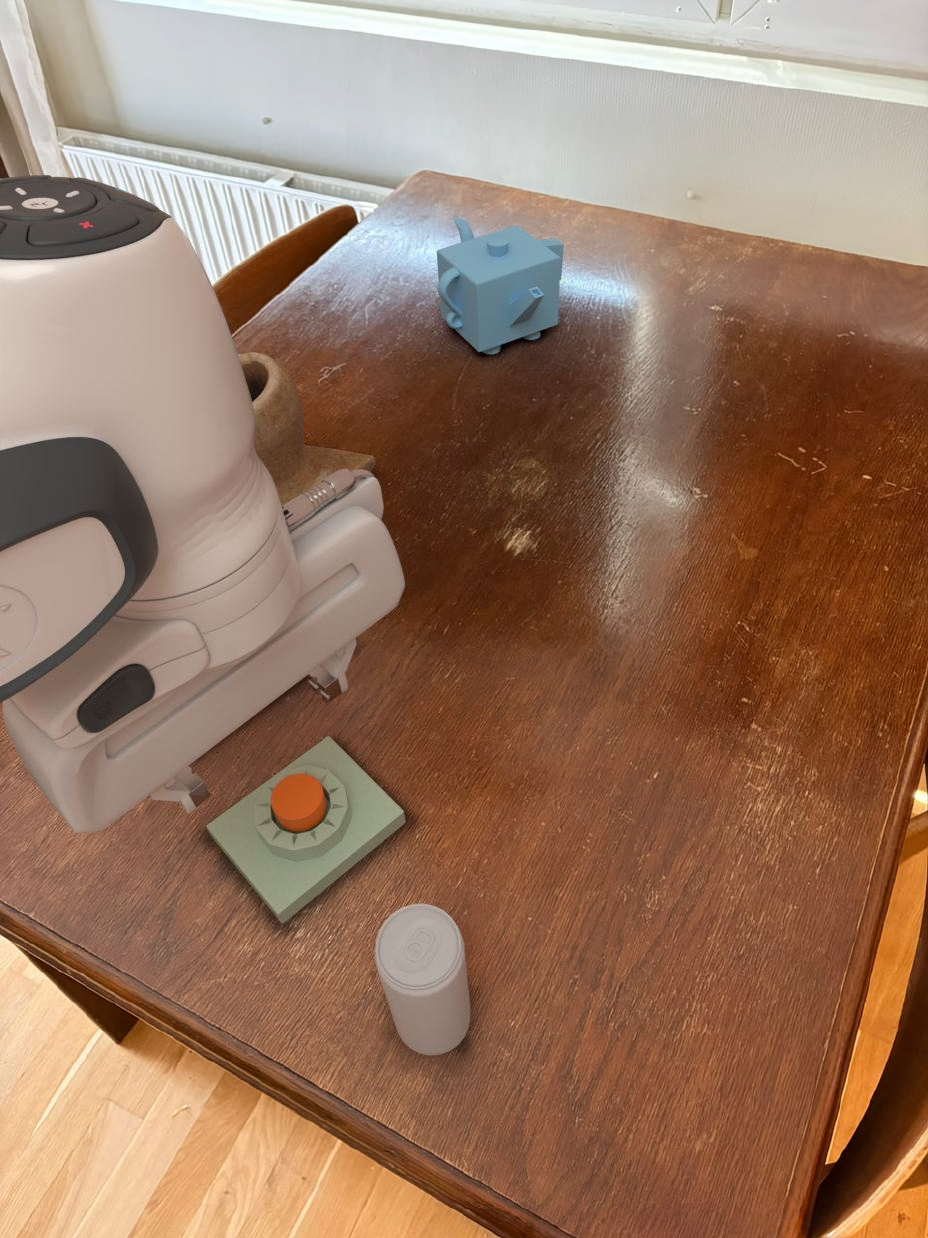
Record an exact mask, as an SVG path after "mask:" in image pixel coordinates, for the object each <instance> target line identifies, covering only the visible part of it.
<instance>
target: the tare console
mask: <svg viewBox="0 0 928 1238" xmlns="http://www.w3.org/2000/svg"><path fill="white" fill-rule="evenodd" d="M293 774H308V775H311V776H313V777H314V778H316V779H317V780H318V781H319V782H320V784H321V786H322V788H323V791H324V795H325V798H326V801H327V809H326V813H325V815H324V817H323V819H322V820H321V821H320V822H319V823H318V824H317V825H316V826H314V827H313V828H311V829H308V830H305V831H299V832H296V831H290V830H287V829H285V828H284V827H282V826H281V825H280V823H279V822H278V820H277V818H276V816H275V813H274V811H273V809H272V806H271V795H272V792H273V790H274V788H275V786H276V785H277V784H278V783H279V782H280V781H281V780H282V779H284V778H286V777H288V776H290V775H293ZM406 823H407V820H406V815H405V810H404V809H403V808H402V807H400V805H398V804H397V803H396V801H395V800H394V799H393V798H392V797H391V796H389V794H388V793H387V792H386V791H385V790H384V789H383V788H382V787H381V786H380V785H379V784H378V783H377V782H376V781H375V780H374V779H373V778H372V777H371V776H370V775H368V773H366V771H365V770H364V769H363V768H362V767H361V766H360V765H359V764H358V763H357V762H356V761H355V760H354V759H353V758H352V757H351V756H350V755H349V754H348V753H347V752H346V751H345V750H344V749H343V748H342V747H341V746H340V745H339V744H338V743H337V742H336V741H335V739H333V738H332V737H331V736H330V735H327V736H326V737H325V738H323V739H322V740H320V741H319V742H318V743H316V744H315V745H314V746H313V747H311V748H309V749H308V750H307V751H306V752H304V753H303V754H301V755H300V756H299V757H298V758H296V759H295V760H294V761H292V762H291V763H289V764H288V765H287V766H285V767H284V768H282V769H281V770H280V771H279V772H277V773H276V774H274V775H273V776H272V777H270V778H269V779H267V780H266V781H264V782H263V783H262V784H260V786H258V787H256V788H255V789H254V790H253V791H251V792H250V793H248V794H247V795H246V796H245V797H243V798H241V800H239V801H238V802H236V803H235V804H234V805H232V806H231V807H229V808H227V810H226V811H224V812H223V813H221V814H219V815H218V816H217V817H216V818H214V819H213V820H212V821H210V822H209V823H207V825H206V830H207V831H208V833H209V835H210V837H211V839H213V840H214V842H215V843H216V844H217V846H218V847H219V848H220V849H221V851H222V852H223V853H224V854H225V856H226V857H227V859H229V860H230V862H231V863H232V864H233V866H235V868H236V870H237V871H238V872H239V873H240V874H241V876H242V877H243V878H244V879H245V881H246V882H247V883H248V884H249V885H250V886H251V888H253V890H254V891H255V893H256V894H257V895H258V897H260V899H261V900H262V901H263V902H264V904H265V905H266V906H267V907H268V908H269V910H270V911H271V912H272V913H273V916H275V917H276V918H277V920H278V921H279V922H280V923H281V924H282V925H283V924H284V923H287V921H289V919H291V918H292V917H293V916H295V915H296V914H297V913H298V912H299V911H300V910H302V909H303V908H304V907H305V906H307V905H308V904H309V903H310V902H312V901H313V900H314V899H316V898H317V897H318V896H319V895H320V894H321V893H322V892H323V891H325V890H326V889H327V888H328V887H329V886H331V885H332V884H333V883H334V882H336V881H337V880H338V879H340V877H342V876H343V875H344V874H346V872H348V871H349V870H351V868H353V867H354V866H355V865H356V864H357V863H359V862H360V861H361V860H363V859H364V858H365V857H366V856H367V855H368V854H370V853H371V852H372V851H373V850H375V849H376V848H377V847H378V846H379V845H381V844H382V843H383V842H384V841H385V840H387V839H388V838H389V837H390V836H391V835H393V834H394V833H396V831H398V829H400V828H401V827H402V826H404V825H405V824H406Z"/></svg>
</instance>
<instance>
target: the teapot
mask: <svg viewBox="0 0 928 1238" xmlns="http://www.w3.org/2000/svg"><path fill="white" fill-rule="evenodd" d="M454 224H455V226H456V228H457V230H458V233H459V238H460V242H458V243H455V244H452V245H448V246H445V247H442V248H439V249H436V262H437V273H438V274H437V277H438V283H437V292H438V296H439V305H440V308H439V309H440V317H441V319H443V320H444V321H445V322H446V324H447V326H448V327H449V328H451V329H453V330H454V331H456V332H457V333H458V334H459V335H460V336H461V337H462V338H463V339H464V340H465V341H466V342H467V343H468V344H469V345H471V346H472V347H473V348H474V349H475V350H476V351H477V352H478V353H481V352H482V353H484V354H485V355H495V354H498V353H499V352H500V351H501V345H504V344H507V343H509V342H512V341H515V340H517V339H521V338H522V339H524V340H528V341H535V340H537V339H539V338H540V337H541V331H543V330H546V329H548V328H552V327H554V326H557V325H559V310H560V309H559V308H560V285H561V284H560V281H562V275H563V274H562V273H563V262H564V261H563V259H564V246H565V245H564V243H563V242H561V241H560V240H559V239H557V238H556V237H554V238H547V239H545V238H544V239H537V238H536V237H534V236H532V235H531V234H530V233H528V232H527V231H525V230H524V229H523V228H521V226H519V225H518V224H517V225H513V226H509V227H506V228H503V229H500V230H496V231H493V232H490V233H487V234H484V235H480V236H477V237H475V236H474V233H473V230H472V229H471V226H470V224H469V223H468V222H467V221H466V220H465V219H463V218H462V217H456V218H454Z"/></svg>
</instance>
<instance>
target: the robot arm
mask: <svg viewBox="0 0 928 1238" xmlns="http://www.w3.org/2000/svg"><path fill="white" fill-rule="evenodd" d="M223 311H224V310H223V308H222V306H221V303H220V301H219V299H218V296H217V294H216V291H215V290H214V287H213V284H212V283H211V280H210V278H209V275H208V273H207V272H206V269H205V268H204V265H203V264H202V261H201V260H200V258H199V256H198V253H197V252H196V250H195V248H194V246H193V245H192V243H191V241H190V240H189V238H188V237H187V235H186V233H185V232H184V230H183V229H182V227H181V226H180V225H179V223H178V222H177V221H176V220H175V219H174V218H173V216H171V214H168V213H166V212H165V211H163V210H162V209H160V208H159V206H157V205H155V204H153V203H151V202H149V201H148V200H145V199H144V198H142V197H140V196H137V195H136V194H133V193H131V192H128V191H126V190H124V189H120V188H118V187H115V186H113V185H110V184H107V183H104V182H101V181H97V180H93V179H90V178H85V177H81V176H79V177H68V176H51V175H50V174H32V175H20V176H9V177H3V178H0V704H1V703H2V709H1V711H2V717H3V718H2V719H3V723H4V726H5V729H6V732H7V734H8V736H9V739H10V741H11V743H12V745H13V747H14V750H15V752H16V753H17V754H18V757H19V758H20V761H21V763H22V764H23V766H24V767H25V769H26V771H27V773H28V774H29V775H30V777H31V778H32V780H33V782H34V783H35V784H36V786H37V787H38V788H39V789H40V791H41V793H42V794H43V795H44V796H45V798H46V799H47V800H48V801H49V803H50V804H51V806H52V807H53V808H54V810H55V811H56V812H57V814H58V815H59V816H60V818H61V819H63V821H64V822H65V823H66V825H67V826H68V827H69V828H70V829H71V830H72V832H74V833H75V834H95V833H96V834H97V833H100V832H103V831H105V830H107V829H108V828H109V827H110V826H112V825H113V824H114V823H116V821H118V820H119V819H120V818H122V817H123V816H125V814H127V813H128V812H130V811H131V810H132V809H133V808H135V807H136V806H137V805H139V804H140V803H142V802H143V801H144V800H145V799H147V798H148V797H149V798H151V800H152V801H163V802H176V803H178V805H179V806H180V807H181V808H182V809H183V811H184V812H185V813H186V814H187V815H190V814H191V813H192V812H193V811H194V810H196V809H197V808H199V806H201V805H202V804H203V803H204V802H206V800H208V799H209V798H210V797H212V794H211V792H210V791H209V790H208V786H207V785H206V783H205V781H204V780H203V779H202V778H201V777H200V776H199V775H198V774H197V773H195V772H194V770H193V768H191V764H193V763H194V762H195V761H196V760H198V759H199V758H200V757H202V756H203V755H204V754H206V753H207V752H208V751H210V750H211V749H213V748H214V747H215V746H216V745H217V744H218V743H220V742H221V741H223V740H224V739H225V738H226V737H228V736H230V735H231V734H233V732H235V731H236V730H237V729H238V728H240V727H241V726H242V725H244V724H245V723H247V722H248V721H250V719H252V718H253V717H254V716H256V715H257V714H258V713H259V712H261V711H262V710H263V709H265V708H267V706H268V705H270V704H271V703H273V702H274V701H275V700H276V699H277V698H279V697H280V696H283V694H285V692H287V691H289V689H291V688H292V687H294V686H295V685H297V683H299V682H300V681H302V680H303V679H304V677H305V676H306V677H305V678H307V679H308V685H309V687H310V689H311V690H312V691H313V692H314V694H316V695H317V696H321V698H322V701H324V702H325V703H326V704H329V703H331V702H332V701H334V700H335V699H336V698H337V697H339V696H340V695H342V694H343V693H344V692H345V691H347V690H348V689H349V683H348V679H347V675H346V672H347V671H348V668H349V665H350V663H351V661H352V657H353V654H354V653H355V650H356V647H357V644H358V643H357V638H358V637H359V636H360V635H362V634H363V633H364V632H366V631H367V630H368V629H370V628H371V627H372V626H374V625H375V624H377V622H379V621H381V619H383V618H385V616H386V615H388V614H390V613H391V612H392V611H394V609H395V608H397V607H398V605H399V602H400V600H401V598H402V596H403V593H404V591H405V587H406V581H405V575H404V571H403V567H402V564H401V560H400V557H399V554H398V551H397V549H396V546H395V543H394V540H393V539H392V538H393V537H392V536H391V534H390V532H389V530H388V528H387V526H386V524H385V523H384V521H382V518H383V515H384V510H385V509H384V508H385V506H384V499H383V492H382V487H381V484H380V482H379V480H378V478H377V477H376V475H374V473H372V471H371V472H369V471H367V470H362V469H361V470H354V471H349V470H348V469H341V470H339V471H336V472H334V473H332V474H331V475H329V476H328V477H326V478H325V479H324V480H323V481H322V483H321V484H319V485H318V486H316V487H315V488H313V489H312V490H309V491H307V492H305V493H303V494H301V495H299V496H297V497H295V498H294V499H292V500H291V501H289V502H288V503H286V504H285V505H283V506H281V502H280V499H279V496H278V492H277V488H276V486H275V483H274V481H273V478H272V476H271V474H270V473H269V471H268V469H267V468H266V466H265V465H264V463H263V462H262V461H261V460H260V458H259V457H258V455H257V453H256V451H255V448H254V430H255V417H254V409H253V404H252V400H251V396H250V393H249V390H248V386H247V383H246V379H245V376H244V372H243V369H242V366H241V363H240V360H239V357H238V354H239V353H238V350H237V347H236V345H235V341H234V339H233V336H232V333H231V331H230V327H229V325H228V321H227V319H226V316H225V314H224V312H223ZM301 679H302V680H301Z"/></svg>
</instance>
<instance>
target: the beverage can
mask: <svg viewBox="0 0 928 1238" xmlns="http://www.w3.org/2000/svg"><path fill="white" fill-rule="evenodd" d="M465 948H466V947H465V941H464V937H463V934H462V931H461V929H460V927H459V926H458V925H457V923H456V922H455V921H454V919H453V917H452V916H451V915H449V914H448V913H447V912H446V911H445V910H444V909H442V908H440V907H438V906H436V905H433V904H428V903H411V904H408V905H405V906H402V907H400V908H399V909H397V910H395V911H394V912H392V913H391V914H390V915H389V916H388V917H387V918H386V920H385V921H384V922H383V923H382V925H381V927H380V929H378V933H377V937H376V940H375V946H374V962H375V966H376V970H377V973H378V976H379V979H380V982H381V986H382V989H383V992H384V994H385V995H384V996H385V999H386V1001H387V1004H388V1007H389V1011H390V1014H391V1017H392V1020H393V1023H394V1026H395V1029H396V1031H397V1034H398V1036H399V1037H400V1039H401V1041H402V1042H403V1043H404V1044H405V1045H406V1046H407V1048H409V1049H410V1050H412V1051H414V1052H416V1053H418V1054H420V1055H424V1056H428V1057H429V1056H441V1055H443V1054H446V1053H449V1052H450V1051H452V1050H454V1049H455V1048H456V1047H458V1046H459V1045H460V1043H462V1041H463V1040H464V1039H465V1038H466V1035H467V1032H468V1030H469V1028H470V1022H471V1000H470V991H469V981H468V971H467V970H468V969H467V959H466V958H467V957H466V949H465Z"/></svg>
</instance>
